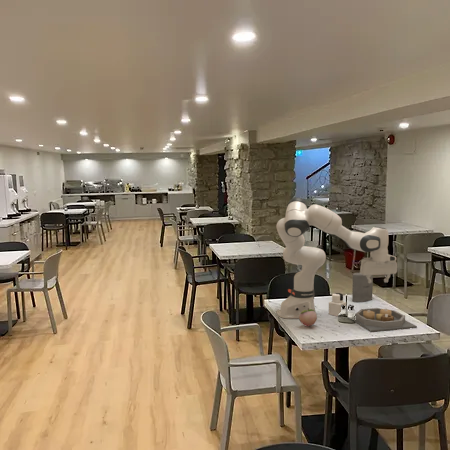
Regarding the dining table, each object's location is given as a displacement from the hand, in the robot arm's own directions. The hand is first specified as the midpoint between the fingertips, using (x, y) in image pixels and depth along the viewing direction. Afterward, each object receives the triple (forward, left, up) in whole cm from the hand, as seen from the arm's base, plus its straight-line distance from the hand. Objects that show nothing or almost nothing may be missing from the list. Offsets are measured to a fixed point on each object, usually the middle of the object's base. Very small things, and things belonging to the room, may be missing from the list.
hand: (378, 282), depth 240 cm
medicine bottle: (-15, +17, -22) cm, 31 cm away
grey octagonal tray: (+1, -1, -21) cm, 21 cm away
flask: (+13, +39, -22) cm, 46 cm away
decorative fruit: (-39, +1, -22) cm, 45 cm away
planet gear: (+2, -7, -20) cm, 22 cm away
